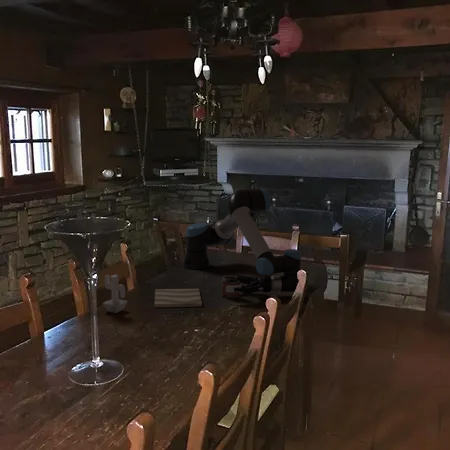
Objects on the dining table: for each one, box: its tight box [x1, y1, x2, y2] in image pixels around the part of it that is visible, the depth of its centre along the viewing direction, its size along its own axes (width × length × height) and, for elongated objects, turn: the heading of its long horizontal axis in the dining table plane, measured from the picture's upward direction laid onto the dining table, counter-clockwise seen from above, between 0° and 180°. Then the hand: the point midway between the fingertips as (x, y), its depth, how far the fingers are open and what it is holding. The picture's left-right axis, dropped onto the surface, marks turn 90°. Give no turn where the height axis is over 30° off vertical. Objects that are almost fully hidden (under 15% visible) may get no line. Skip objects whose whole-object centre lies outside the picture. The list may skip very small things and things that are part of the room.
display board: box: [154, 288, 203, 308], centre depth 223 cm, size 20×20×2 cm
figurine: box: [102, 274, 128, 314], centre depth 206 cm, size 7×9×15 cm
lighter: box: [221, 275, 241, 299], centre depth 227 cm, size 8×3×10 cm, turn 84°
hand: (224, 284), depth 227 cm, fingers open, 13 cm apart
